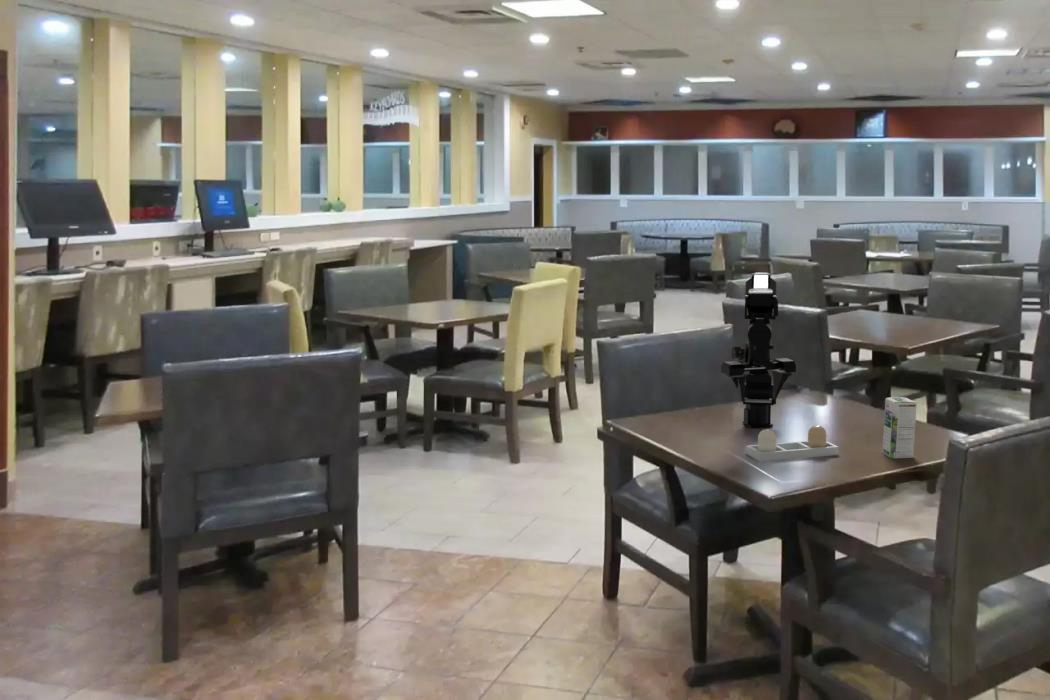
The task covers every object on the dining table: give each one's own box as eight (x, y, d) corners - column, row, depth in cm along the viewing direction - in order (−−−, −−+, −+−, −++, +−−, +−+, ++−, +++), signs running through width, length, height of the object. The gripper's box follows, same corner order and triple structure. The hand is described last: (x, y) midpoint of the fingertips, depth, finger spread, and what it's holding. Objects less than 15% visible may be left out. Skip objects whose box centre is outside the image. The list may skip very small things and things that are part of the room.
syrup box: (881, 454, 259) (883, 397, 256) (904, 453, 259) (907, 396, 257) (891, 460, 253) (893, 402, 251) (914, 459, 254) (917, 401, 251)
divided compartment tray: (822, 448, 264) (822, 439, 264) (838, 456, 257) (838, 446, 257) (745, 455, 260) (746, 445, 259) (759, 463, 252) (759, 453, 252)
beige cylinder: (819, 449, 262) (820, 422, 261) (829, 453, 258) (830, 426, 257) (804, 450, 261) (805, 424, 260) (813, 454, 257) (814, 428, 256)
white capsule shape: (770, 453, 259) (771, 426, 258) (779, 457, 255) (779, 430, 254) (754, 454, 258) (755, 427, 257) (762, 459, 254) (763, 432, 253)
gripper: (778, 333, 274) (776, 391, 277) (712, 337, 270) (711, 395, 273) (798, 339, 264) (797, 400, 266) (730, 343, 259) (729, 404, 262)
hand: (758, 399), depth 267 cm, fingers open, 9 cm apart
